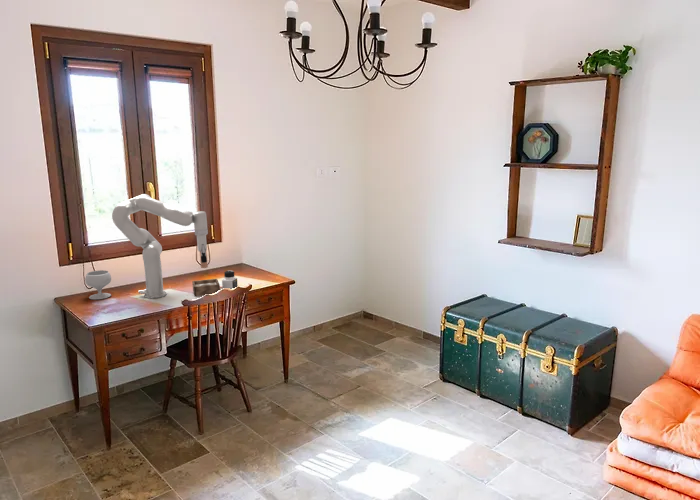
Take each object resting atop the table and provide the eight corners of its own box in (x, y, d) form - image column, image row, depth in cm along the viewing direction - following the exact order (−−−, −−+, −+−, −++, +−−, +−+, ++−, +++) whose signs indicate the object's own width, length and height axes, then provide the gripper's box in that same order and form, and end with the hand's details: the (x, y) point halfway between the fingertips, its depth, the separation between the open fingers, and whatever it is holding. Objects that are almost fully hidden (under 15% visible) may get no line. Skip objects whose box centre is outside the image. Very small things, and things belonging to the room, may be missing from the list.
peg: (201, 268, 306) (199, 249, 303) (200, 266, 309) (199, 247, 307) (208, 267, 307) (206, 248, 304) (207, 266, 311) (205, 247, 308)
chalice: (93, 302, 293) (90, 277, 290) (83, 297, 302) (80, 273, 299) (117, 296, 304) (114, 272, 300) (106, 292, 313) (104, 268, 309)
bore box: (194, 296, 303) (193, 287, 302) (192, 290, 316) (192, 281, 315) (220, 293, 308) (219, 284, 307) (217, 287, 321) (216, 278, 320)
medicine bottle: (233, 291, 313) (232, 272, 310) (222, 291, 314) (221, 272, 312) (237, 288, 320) (236, 270, 317) (227, 287, 321) (226, 269, 319)
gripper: (193, 230, 310) (196, 259, 314) (195, 234, 295) (198, 265, 299) (206, 229, 312) (209, 258, 316) (208, 233, 297) (211, 263, 301)
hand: (203, 261), depth 307 cm, fingers closed on peg, 4 cm apart
